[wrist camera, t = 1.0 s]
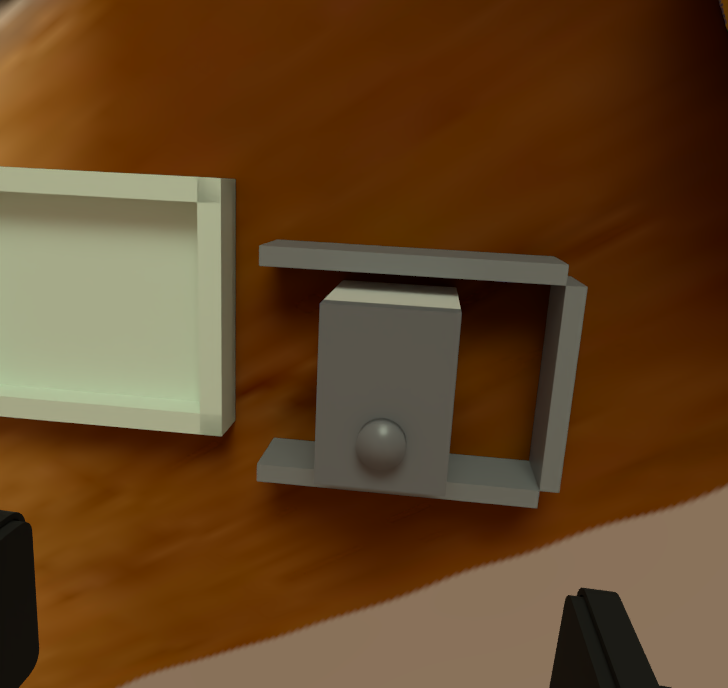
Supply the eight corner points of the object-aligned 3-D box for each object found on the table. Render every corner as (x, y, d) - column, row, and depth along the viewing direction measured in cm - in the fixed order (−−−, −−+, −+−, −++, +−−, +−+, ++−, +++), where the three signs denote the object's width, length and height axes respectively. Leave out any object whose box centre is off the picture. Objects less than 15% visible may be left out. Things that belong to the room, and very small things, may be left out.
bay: (573, 257, 27) (590, 266, 24) (544, 478, 29) (556, 510, 26) (277, 239, 28) (259, 245, 25) (273, 453, 30) (256, 481, 28)
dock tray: (235, 179, 28) (220, 178, 26) (235, 420, 30) (221, 436, 28) (-48, 164, 29) (-83, 162, 27) (-24, 397, 31) (-54, 411, 30)
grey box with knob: (456, 286, 28) (462, 316, 21) (443, 435, 29) (445, 504, 23) (343, 279, 28) (316, 306, 22) (337, 426, 30) (310, 491, 24)
